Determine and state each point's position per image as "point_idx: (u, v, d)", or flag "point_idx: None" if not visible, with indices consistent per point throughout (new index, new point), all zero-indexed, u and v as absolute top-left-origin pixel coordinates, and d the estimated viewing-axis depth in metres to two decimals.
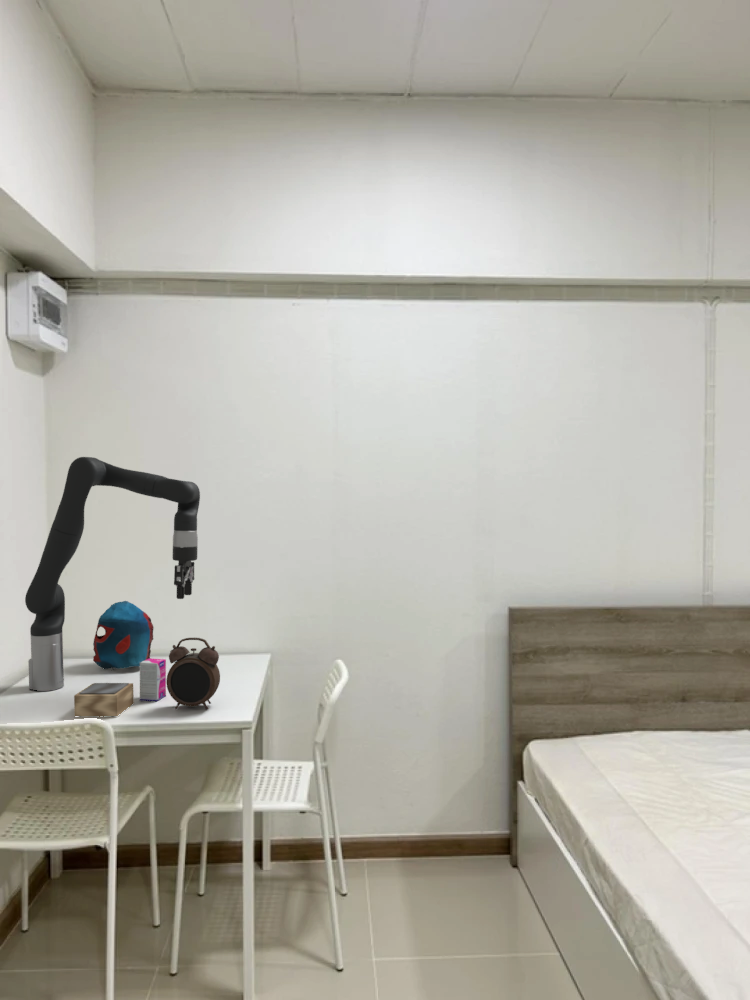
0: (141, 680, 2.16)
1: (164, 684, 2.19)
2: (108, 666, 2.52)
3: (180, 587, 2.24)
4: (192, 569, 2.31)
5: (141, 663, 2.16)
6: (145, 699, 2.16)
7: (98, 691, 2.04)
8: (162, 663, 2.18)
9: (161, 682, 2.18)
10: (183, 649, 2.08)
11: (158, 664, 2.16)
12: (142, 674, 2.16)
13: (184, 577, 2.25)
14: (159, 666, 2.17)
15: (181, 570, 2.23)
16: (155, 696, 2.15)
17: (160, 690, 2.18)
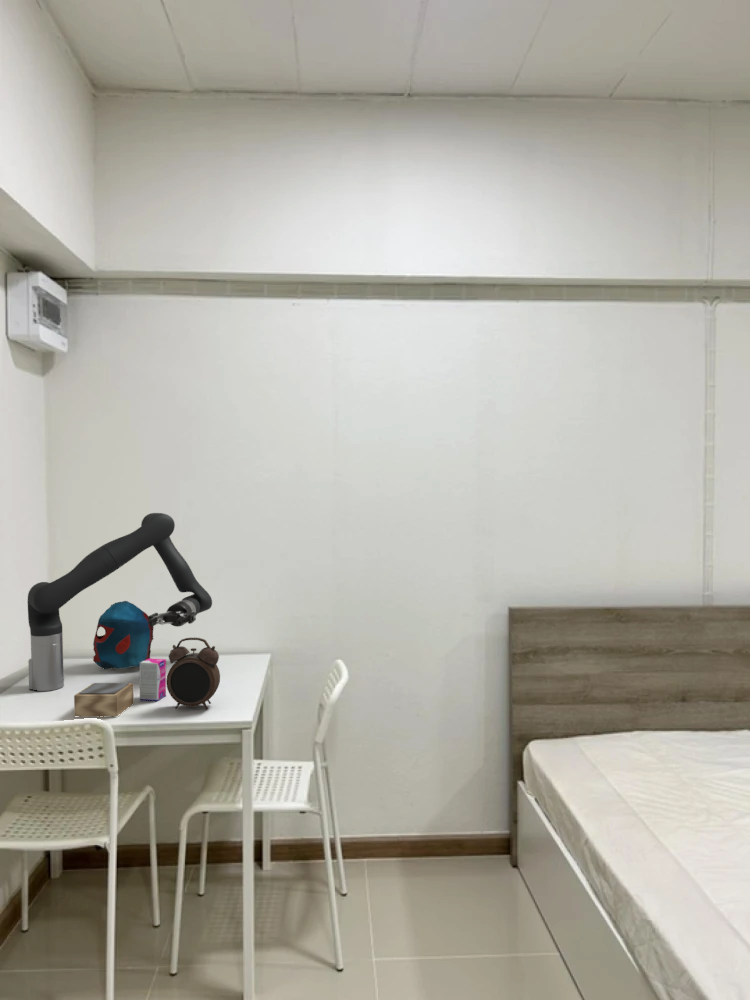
0: (141, 680, 2.16)
1: (163, 684, 2.19)
2: (108, 666, 2.52)
3: (184, 621, 2.33)
4: (168, 623, 2.38)
5: (141, 663, 2.16)
6: (145, 699, 2.16)
7: (98, 691, 2.04)
8: (162, 663, 2.18)
9: (161, 682, 2.18)
10: (183, 649, 2.08)
11: (158, 664, 2.16)
12: (142, 674, 2.16)
13: None
14: (159, 666, 2.17)
15: (194, 619, 2.38)
16: (155, 696, 2.15)
17: (160, 690, 2.18)
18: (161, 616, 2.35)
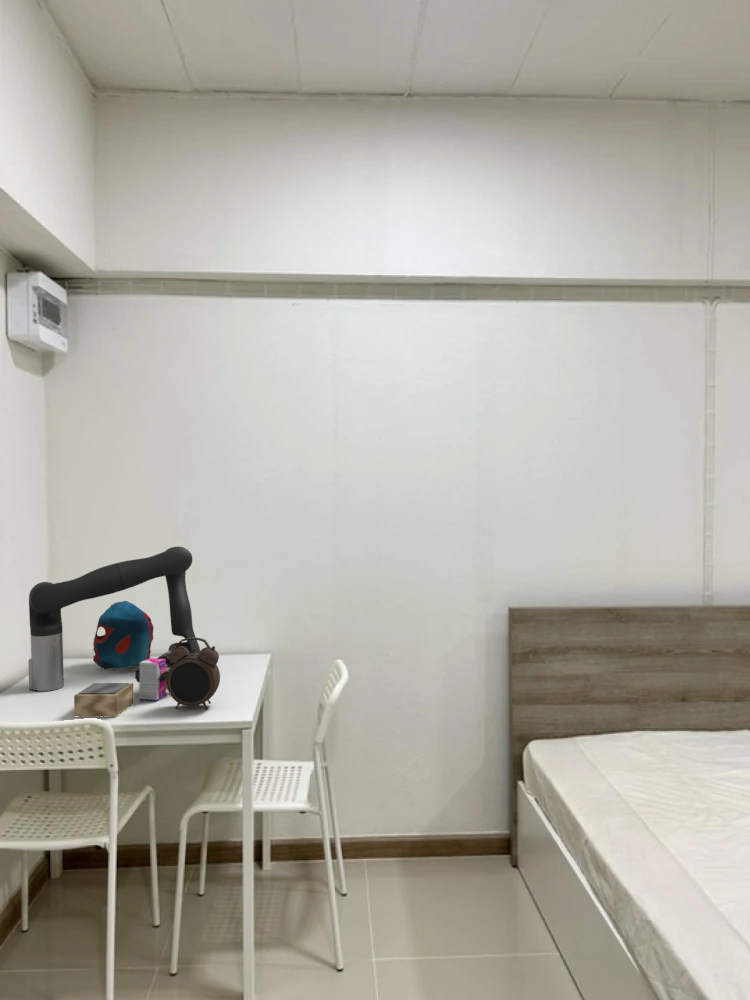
0: (141, 680, 2.16)
1: (163, 684, 2.19)
2: (108, 666, 2.52)
3: None
4: None
5: (141, 663, 2.16)
6: (145, 699, 2.16)
7: (98, 691, 2.04)
8: (162, 663, 2.18)
9: (161, 682, 2.18)
10: (183, 649, 2.08)
11: (158, 664, 2.16)
12: (142, 674, 2.16)
13: None
14: (159, 666, 2.17)
15: None
16: (155, 696, 2.15)
17: (160, 690, 2.18)
18: None
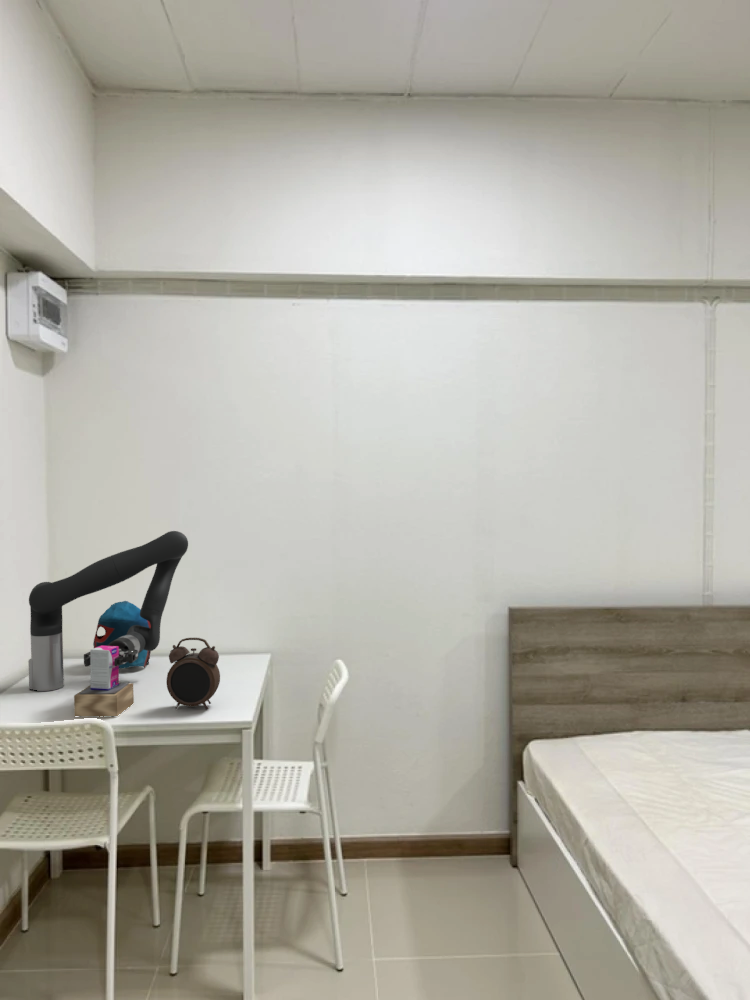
0: (92, 668, 2.05)
1: (116, 672, 2.09)
2: None
3: (124, 660, 2.09)
4: None
5: (92, 650, 2.05)
6: (96, 688, 2.05)
7: (98, 691, 2.04)
8: (114, 650, 2.08)
9: (113, 671, 2.07)
10: (183, 649, 2.08)
11: (110, 651, 2.05)
12: (93, 662, 2.05)
13: None
14: (111, 653, 2.06)
15: (136, 658, 2.14)
16: (107, 685, 2.05)
17: (113, 678, 2.07)
18: None
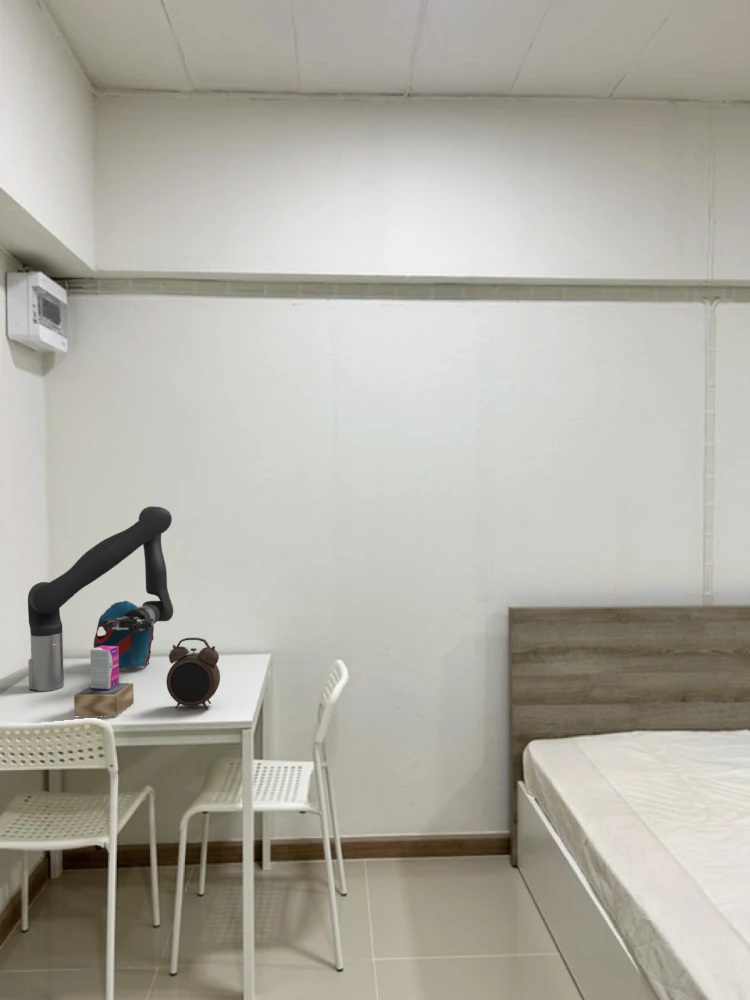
0: (92, 668, 2.05)
1: (116, 672, 2.09)
2: None
3: (141, 627, 2.23)
4: None
5: (92, 650, 2.05)
6: (96, 688, 2.05)
7: (98, 691, 2.04)
8: (114, 650, 2.08)
9: (113, 671, 2.07)
10: (183, 649, 2.08)
11: (110, 651, 2.05)
12: (93, 662, 2.05)
13: None
14: (111, 653, 2.06)
15: (152, 626, 2.29)
16: (107, 685, 2.05)
17: (113, 678, 2.07)
18: (117, 621, 2.26)
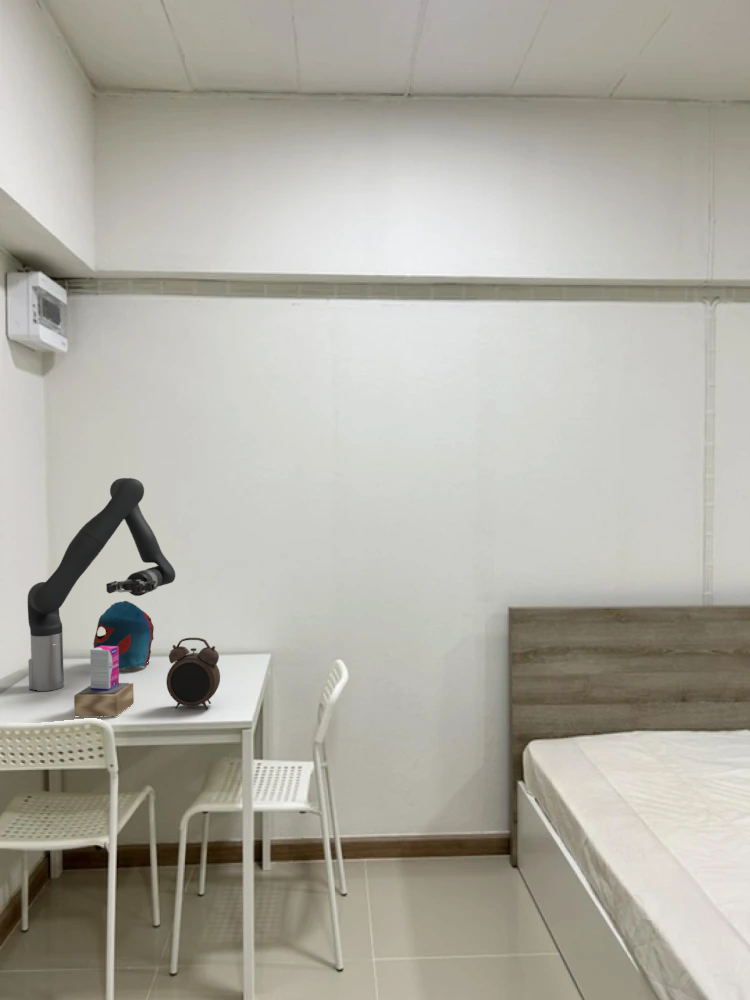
0: (92, 668, 2.05)
1: (116, 672, 2.09)
2: None
3: (144, 588, 2.26)
4: None
5: (92, 650, 2.05)
6: (96, 688, 2.05)
7: (98, 691, 2.04)
8: (114, 650, 2.08)
9: (113, 671, 2.07)
10: (183, 649, 2.08)
11: (110, 651, 2.05)
12: (93, 662, 2.05)
13: None
14: (111, 653, 2.06)
15: (155, 588, 2.31)
16: (106, 685, 2.05)
17: (113, 678, 2.07)
18: (120, 584, 2.28)
